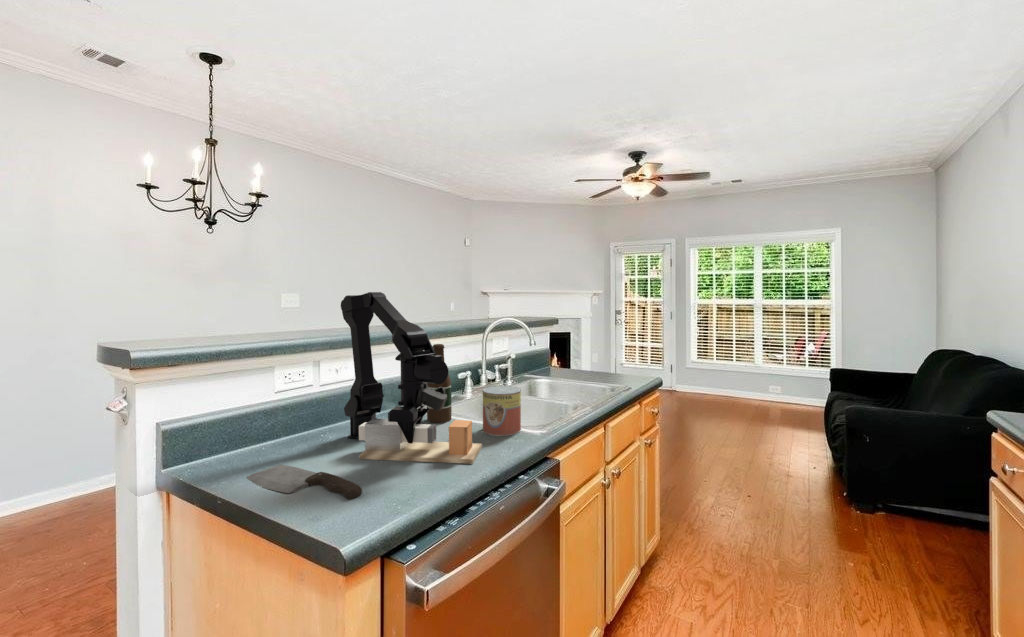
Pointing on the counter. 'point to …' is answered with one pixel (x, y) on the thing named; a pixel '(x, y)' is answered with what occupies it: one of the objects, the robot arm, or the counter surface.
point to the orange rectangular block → (460, 437)
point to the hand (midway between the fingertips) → (413, 440)
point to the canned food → (501, 410)
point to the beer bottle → (446, 411)
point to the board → (425, 453)
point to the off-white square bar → (421, 434)
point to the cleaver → (302, 481)
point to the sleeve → (383, 436)
